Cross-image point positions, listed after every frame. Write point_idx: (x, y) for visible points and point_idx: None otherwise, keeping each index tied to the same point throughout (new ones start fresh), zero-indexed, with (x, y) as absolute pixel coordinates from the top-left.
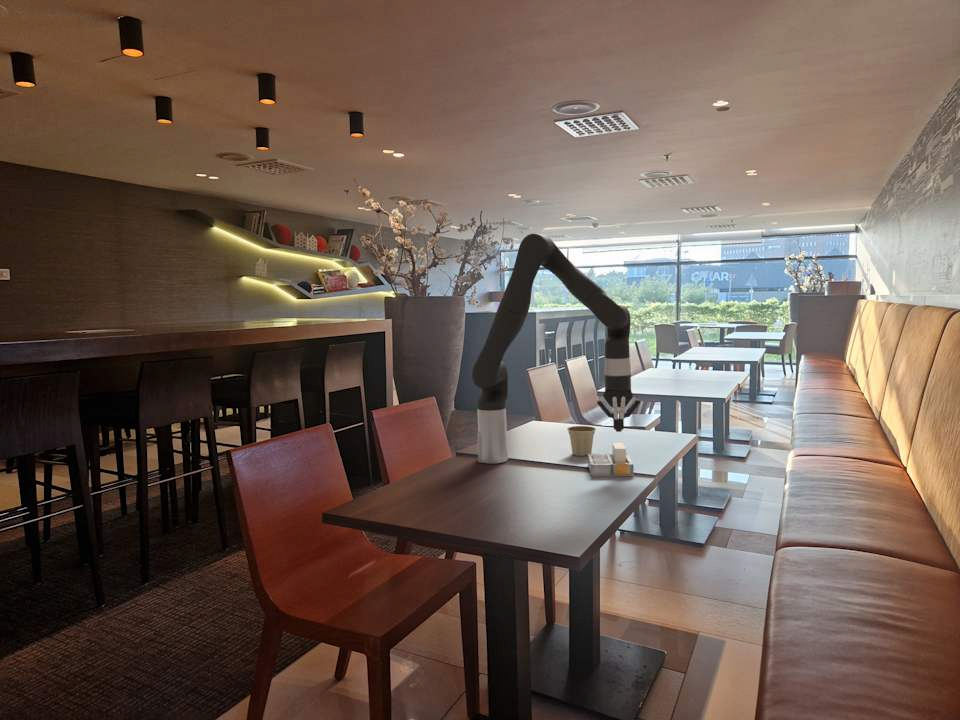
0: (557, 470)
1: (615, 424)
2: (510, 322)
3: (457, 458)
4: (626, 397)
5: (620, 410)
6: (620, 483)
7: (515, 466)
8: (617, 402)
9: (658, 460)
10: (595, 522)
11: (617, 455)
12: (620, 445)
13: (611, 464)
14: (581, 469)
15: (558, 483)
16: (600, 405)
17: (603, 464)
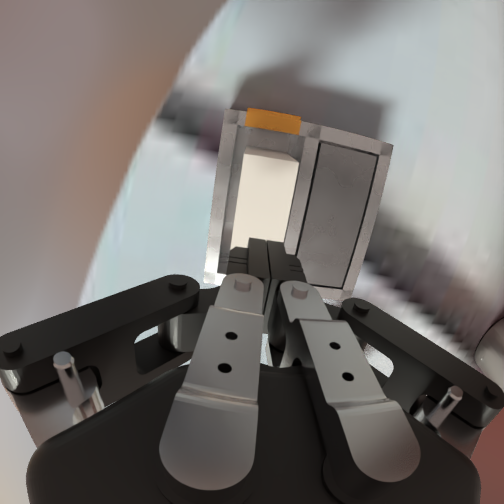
0: (438, 240)
1: (292, 272)
2: None
3: None
4: (135, 467)
5: (262, 316)
6: (300, 42)
7: (491, 294)
8: (302, 417)
9: (108, 288)
10: None
11: (284, 157)
12: (250, 228)
13: (317, 125)
14: (376, 235)
15: (469, 110)
16: (473, 376)
17: (347, 135)
